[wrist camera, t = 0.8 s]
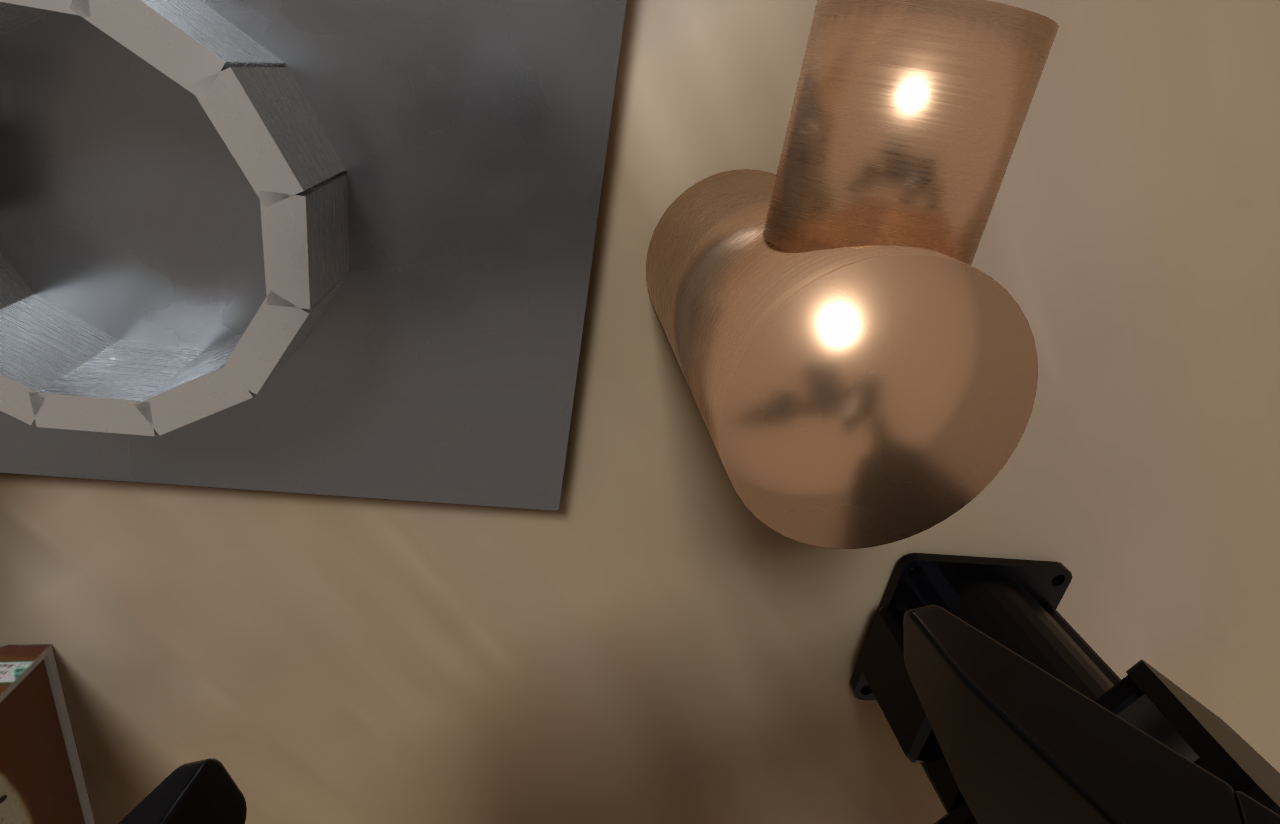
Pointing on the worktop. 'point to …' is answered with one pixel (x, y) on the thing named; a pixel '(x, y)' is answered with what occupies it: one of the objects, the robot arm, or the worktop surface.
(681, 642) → the worktop surface
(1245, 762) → the robot arm
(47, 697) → the food container
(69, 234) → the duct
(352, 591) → the worktop surface
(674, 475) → the worktop surface
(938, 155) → the elbow
